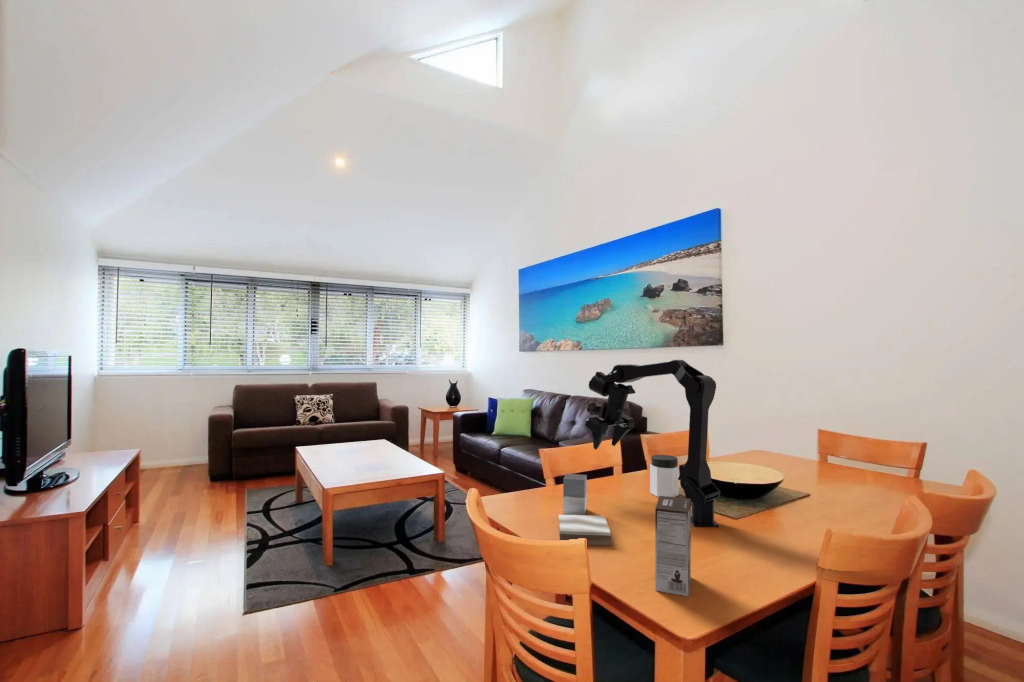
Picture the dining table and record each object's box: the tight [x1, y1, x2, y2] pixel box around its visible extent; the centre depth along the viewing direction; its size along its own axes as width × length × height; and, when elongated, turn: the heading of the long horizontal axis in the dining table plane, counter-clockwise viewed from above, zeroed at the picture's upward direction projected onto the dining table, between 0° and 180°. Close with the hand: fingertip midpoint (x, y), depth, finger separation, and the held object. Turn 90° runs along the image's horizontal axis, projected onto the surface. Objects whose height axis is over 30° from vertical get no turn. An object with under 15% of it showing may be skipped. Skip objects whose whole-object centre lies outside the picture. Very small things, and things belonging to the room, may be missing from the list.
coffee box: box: [654, 496, 692, 597], centre depth 96 cm, size 9×6×16 cm
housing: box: [562, 473, 588, 515], centre depth 140 cm, size 6×6×10 cm
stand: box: [558, 513, 612, 547], centre depth 121 cm, size 12×12×3 cm
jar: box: [649, 454, 680, 498], centre depth 157 cm, size 9×8×12 cm
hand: (604, 447), depth 157 cm, fingers open, 9 cm apart
